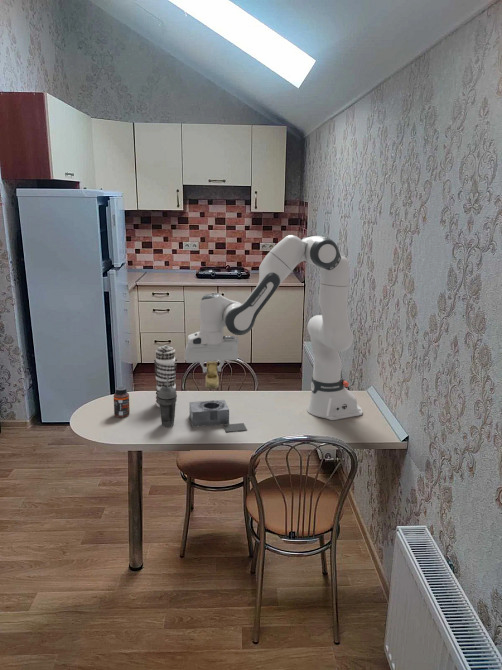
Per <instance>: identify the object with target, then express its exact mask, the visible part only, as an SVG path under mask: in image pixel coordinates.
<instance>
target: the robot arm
mask: <svg viewBox="0 0 502 670" xmlns="http://www.w3.org/2000/svg"><path fill="white" fill-rule="evenodd" d="M302 262H304V263H307V264H309V265H311V266H313V267H314V266H317V267H319V269H320V281H319V283H320V284H319V293H318V305H319V308H320V312H321V314H316V315H314V316H312V317H311V318H310V319H309V320H308V322H307V332H308V334H309V338H310V343H311V347H312V349H311V350H312V355H313V357H312V358H313V367H312V368H313V369H312V370H313V371H312V377H311V383H310V389H311V390H310V391H311V394H310V398H309V403H308V405H307V407H306V411H307V412H308V413H309V414H310V415H312V416H314V417H317V418H318V417H319V418H324V419H327V420H329V421H335V420H336V421H337V420H342V419H347V418H348V419H349V418H353V417H358V416H362V415H363V409H362V407H361V406H360V405H358V401H357V398H356V396H355V395H354V394H353V393H352V392H351V391H350V390H349V389H347V388H348V387H349V385H350V383H349V382H348V381H347V380H344V379H343V378H342V376H341V375H342V374H341V373H342V358H341V356H340V353H339V352H345V351H347V350H348V349H350V347H351V346H352V345H353V342H354V339H355V338H354V337H355V336H354V333H353V330H352V329H351V325H350V319H349V313H348V312H349V311H348V300H349V299H348V298H349V290H350V289H349V287H350V278H351V277H350V276H351V275H350V273H351V271H350V261H349V260H348V258H346V257H345V256H343V255H341V254H340V251H339V247H338V245H337V243H336V242H335V241H333V239H331V238H329V237H325V236H322V235H306V236H305V237H302V238H300V237H299V236H296V235H294V234H289V235H286V236H285V237H284V238H282V239H281V240H280V241H278V243H277V244H275V245H274V246H273V247H272V248H271V250H270V251H269V252H268V253H267V254H266V255H265V257H264V258H263V259H262V261H261V263H260V265H259V266H258V267H259V268H258V273H259V274H258V275H259V277H258V278H259V279H258V283H257V285H256V287H255V288H254V289H253V290H252V292H251V293H250V294H249V295H248V296H247V298H246V300H244V302H243V303H241V302H239V301H237V300H231V299H230V298H227V297H225V296H223V295H222V294H221V293H217V292H215V293H214V292H213V293H208V294H205V295H203V296H202V297H201V299H200V302H199V321H200V326H199V331H196V332H194V333H191V334H188V336H187V343H186V345H185V350H184V360H185V362H186V363H188V364H191V363H192V364H194V363H199V364H200V367H201V368H202V373H203V374H205V373H206V374H207V366H205V362H206V363H207V362H209V361H215V362H219V365H217V373H218V372H219V373H221V372H222V367H223V366H224V364H225V361H236V360H238V358H239V357H240V356H239V348H238V346H239V344H240V341H239V338H238V336H243V335H246V334H248V333H249V332H250V331H251V330H252V329H253V327H254V325H255V322H256V319H257V316H258V315H259V314H260V312H261V311H262V309H263V308H264V307H265V305H266V304H267V303H268V301H269V300H270V298H271V297H272V296H273V295H274V293H275V292H276V290H278V288H279V287H280V285H281V284H282V283H283V282H284V281H285V280H286V278H287V277H288V276H290V275H291V273H292V272H293V271H294V269H295V268H296V267H297V266H298V265H299V264H300V263H302ZM225 327H226V328H227V330H228V331H229V332H230V333H231V334H233V335H224V328H225Z"/></svg>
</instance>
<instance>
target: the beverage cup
mask: <svg viewBox="0 0 502 670" xmlns="http://www.w3.org/2000/svg"><path fill="white" fill-rule="evenodd" d="M176 392H177V390H176V391H175V389H174V388H173V387H171V386H168V376H167V385H166V386H163V387H162V388H161V389H160V390H159V392H158V401H159V405H160V407H159V411H160V412H159V413H160V421H161V422H160V423H161V425H162V427H165V428H169V427H173V426H174V425H175V417H176V406H175V404H177V400H176V399H177V397H178V395H177V393H176Z"/></svg>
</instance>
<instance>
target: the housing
mask: <svg viewBox="0 0 502 670" xmlns="http://www.w3.org/2000/svg"><path fill="white" fill-rule="evenodd" d="M188 405H189V410H188V411H189V419H190V422H191V426H192V428H195V427H196V428H197V427H207V426H208V427H209V426H221V425H222V424H223V425H226V424H230V408H229V406H228V404H227V402H226V400H225V399H215V400H203V401H189V404H188ZM223 425H222V426H223Z"/></svg>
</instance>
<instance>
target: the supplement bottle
mask: <svg viewBox="0 0 502 670" xmlns="http://www.w3.org/2000/svg"><path fill="white" fill-rule="evenodd" d="M113 412H114V413H113V414H114V416H115V417H117V418H120V419H121V418H126V417H128V416H129V415H130V414H131V413H130V412H131V411H130V393H129V392H127V387H125V386H118V387H116V388H115V393H114V394H113Z"/></svg>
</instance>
